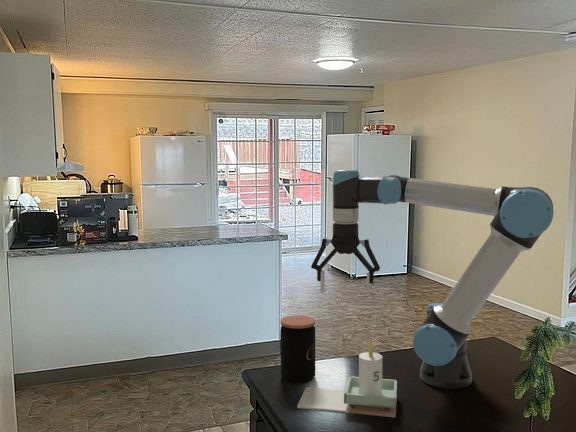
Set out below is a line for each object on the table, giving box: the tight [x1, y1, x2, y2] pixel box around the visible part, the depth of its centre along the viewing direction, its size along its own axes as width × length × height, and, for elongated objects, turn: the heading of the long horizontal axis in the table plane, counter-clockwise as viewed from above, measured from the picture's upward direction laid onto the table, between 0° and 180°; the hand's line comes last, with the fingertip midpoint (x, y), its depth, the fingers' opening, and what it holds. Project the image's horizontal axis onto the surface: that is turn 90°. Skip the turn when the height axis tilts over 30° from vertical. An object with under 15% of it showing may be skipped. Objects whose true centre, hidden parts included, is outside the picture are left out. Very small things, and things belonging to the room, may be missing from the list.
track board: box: [297, 386, 398, 418], centre depth 149 cm, size 26×13×1 cm, turn 77°
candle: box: [358, 338, 383, 396], centre depth 147 cm, size 6×6×15 cm
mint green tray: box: [344, 375, 398, 411], centre depth 148 cm, size 13×12×4 cm
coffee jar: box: [280, 315, 316, 384], centre depth 166 cm, size 11×11×18 cm
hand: (345, 293), depth 162 cm, fingers open, 13 cm apart
